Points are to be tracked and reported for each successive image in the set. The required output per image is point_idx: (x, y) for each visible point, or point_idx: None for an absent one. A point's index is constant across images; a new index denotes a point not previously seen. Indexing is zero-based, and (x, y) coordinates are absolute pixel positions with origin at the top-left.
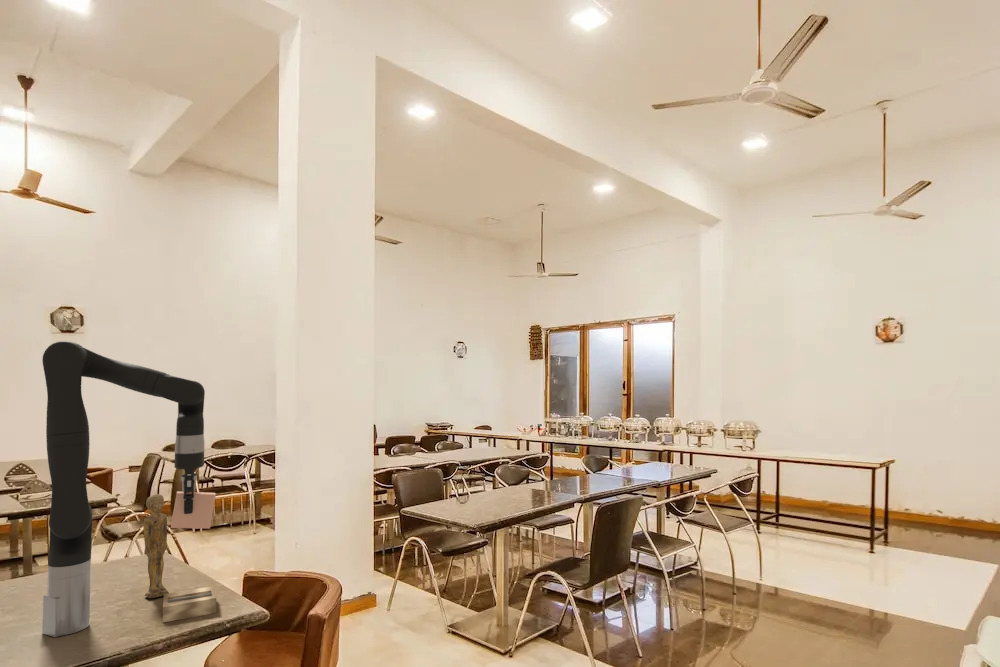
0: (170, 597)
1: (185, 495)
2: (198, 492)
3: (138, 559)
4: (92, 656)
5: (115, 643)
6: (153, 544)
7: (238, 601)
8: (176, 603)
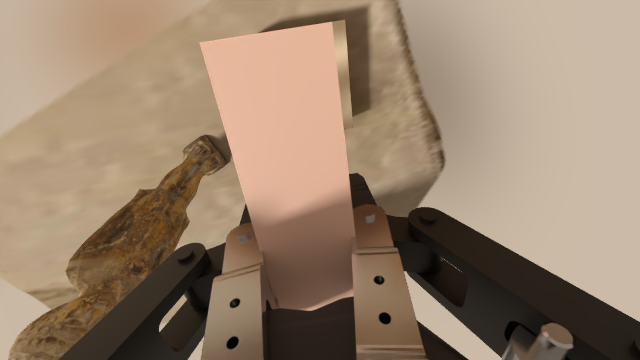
0: None
1: (457, 270)
2: (265, 212)
3: None
4: (430, 181)
5: (401, 166)
6: (174, 223)
7: None
8: (343, 106)
